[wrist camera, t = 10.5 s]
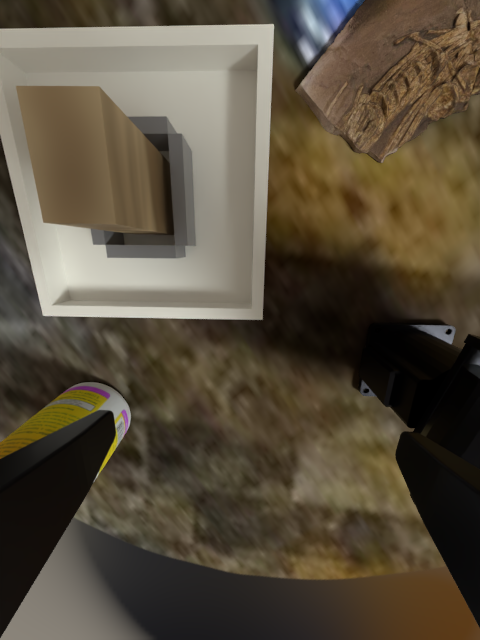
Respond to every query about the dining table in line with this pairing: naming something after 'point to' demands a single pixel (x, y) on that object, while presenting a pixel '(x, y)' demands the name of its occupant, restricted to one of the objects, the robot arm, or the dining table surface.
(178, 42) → the ceramic dish
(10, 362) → the dining table surface
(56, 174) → the pine wood block
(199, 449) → the dining table surface
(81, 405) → the supplement bottle
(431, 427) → the robot arm
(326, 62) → the wooden fragment
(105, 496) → the dining table surface
